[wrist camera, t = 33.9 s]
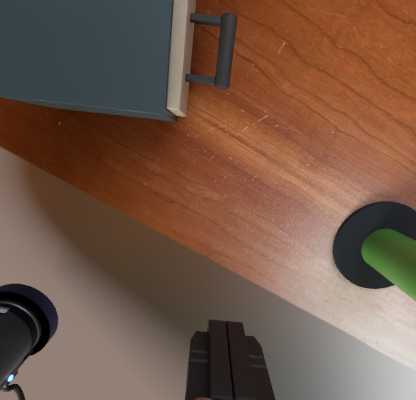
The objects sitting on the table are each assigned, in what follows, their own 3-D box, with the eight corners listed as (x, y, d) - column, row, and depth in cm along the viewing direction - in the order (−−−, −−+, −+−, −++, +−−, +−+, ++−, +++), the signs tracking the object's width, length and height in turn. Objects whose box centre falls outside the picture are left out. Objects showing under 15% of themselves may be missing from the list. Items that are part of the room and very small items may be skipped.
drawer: (236, 7, 26) (245, -38, 20) (223, 121, 29) (227, 115, 22) (65, -14, 26) (15, -67, 19) (67, 103, 28) (24, 92, 22)
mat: (410, 290, 35) (413, 293, 34) (323, 281, 34) (325, 284, 34) (437, 206, 32) (442, 207, 31) (344, 196, 32) (346, 197, 31)
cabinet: (186, -2, 27) (175, -66, 18) (176, 121, 30) (163, 114, 21) (48, -18, 27) (-27, -91, 18) (52, 107, 29) (-11, 94, 21)
